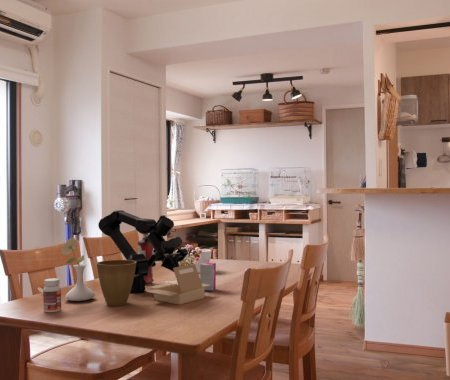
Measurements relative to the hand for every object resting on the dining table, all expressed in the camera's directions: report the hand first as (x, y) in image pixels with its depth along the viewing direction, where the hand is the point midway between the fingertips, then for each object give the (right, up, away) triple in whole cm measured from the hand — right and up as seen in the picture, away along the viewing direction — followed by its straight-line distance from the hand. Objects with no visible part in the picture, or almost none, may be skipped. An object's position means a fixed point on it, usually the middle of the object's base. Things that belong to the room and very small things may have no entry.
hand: (179, 273), depth 203 cm
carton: (-2, -10, +2) cm, 10 cm away
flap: (+5, -5, -4) cm, 9 cm away
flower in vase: (-40, -11, 0) cm, 41 cm away
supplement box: (+11, -10, +17) cm, 22 cm away
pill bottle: (-45, -11, -16) cm, 49 cm away
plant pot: (-23, -11, -7) cm, 26 cm away
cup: (+5, -10, +64) cm, 65 cm away
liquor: (-18, -10, +33) cm, 39 cm away
